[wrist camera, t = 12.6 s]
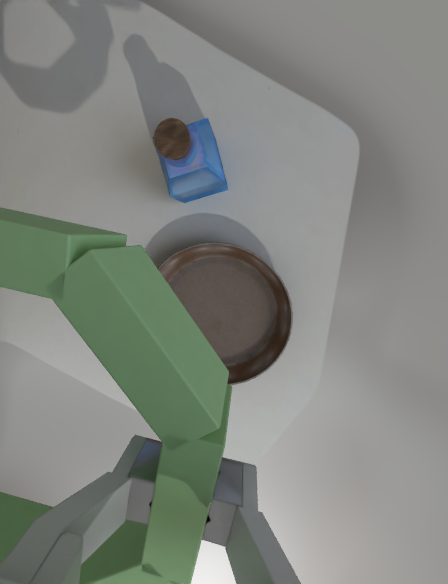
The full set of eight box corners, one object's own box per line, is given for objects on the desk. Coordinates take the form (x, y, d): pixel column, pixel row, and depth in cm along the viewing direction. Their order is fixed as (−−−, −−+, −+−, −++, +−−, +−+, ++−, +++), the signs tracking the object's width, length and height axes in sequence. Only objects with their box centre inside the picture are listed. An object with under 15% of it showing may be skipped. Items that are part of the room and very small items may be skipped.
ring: (262, 263, 9) (267, 277, 6) (187, 571, 13) (168, 673, 10) (-139, 177, 10) (-307, 151, 7) (-96, 488, 13) (-193, 558, 10)
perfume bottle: (215, 139, 32) (196, 85, 20) (228, 189, 33) (216, 165, 21) (170, 155, 33) (127, 111, 21) (184, 202, 34) (150, 186, 22)
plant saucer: (219, 398, 40) (216, 412, 37) (124, 310, 39) (112, 317, 35) (319, 315, 36) (326, 323, 32) (216, 209, 34) (213, 207, 31)
